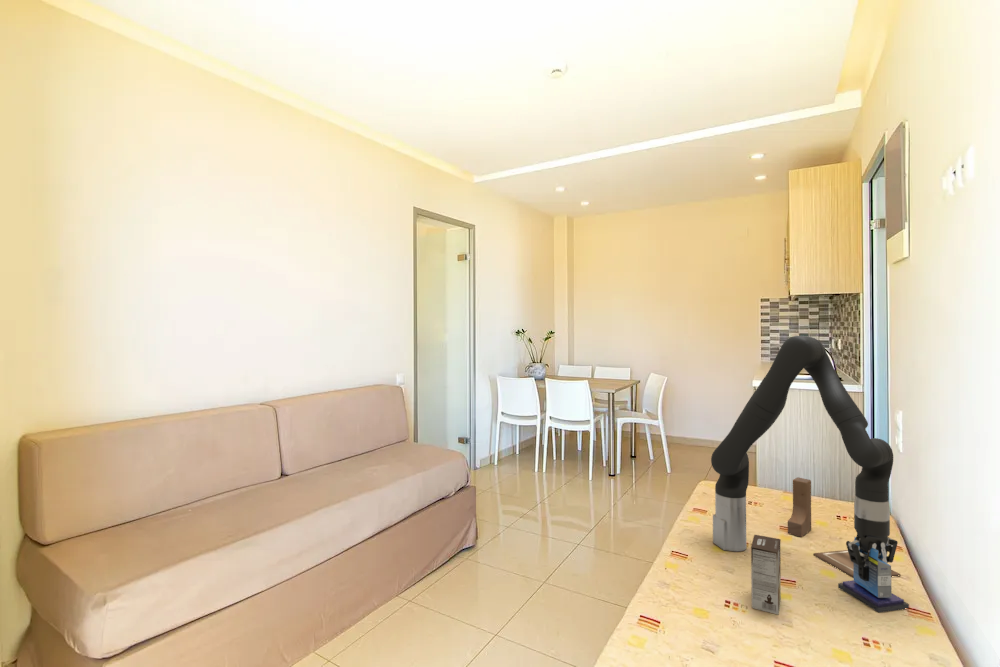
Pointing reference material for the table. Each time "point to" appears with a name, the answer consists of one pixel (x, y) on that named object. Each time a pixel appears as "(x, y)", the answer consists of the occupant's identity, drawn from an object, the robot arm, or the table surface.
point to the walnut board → (841, 561)
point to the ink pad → (872, 598)
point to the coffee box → (766, 574)
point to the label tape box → (876, 576)
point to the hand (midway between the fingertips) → (871, 578)
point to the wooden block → (800, 508)
